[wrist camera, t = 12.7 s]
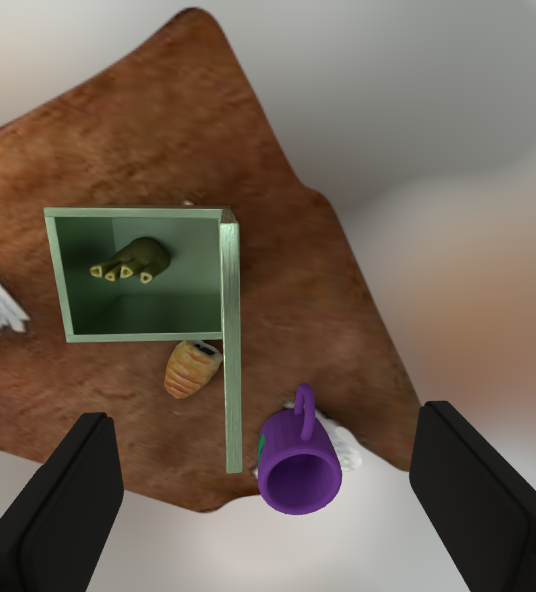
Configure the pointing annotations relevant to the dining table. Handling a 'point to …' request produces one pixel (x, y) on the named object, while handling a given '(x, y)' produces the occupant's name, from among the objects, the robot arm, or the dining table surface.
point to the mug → (297, 459)
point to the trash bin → (130, 291)
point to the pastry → (191, 367)
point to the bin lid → (231, 338)
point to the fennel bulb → (134, 262)
